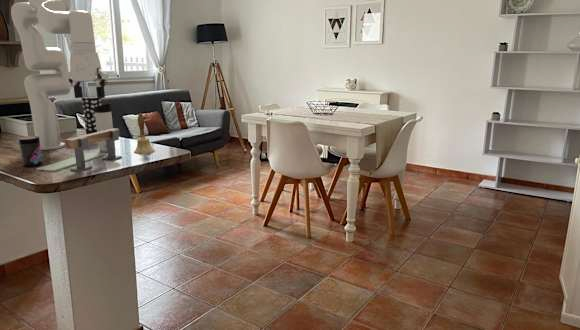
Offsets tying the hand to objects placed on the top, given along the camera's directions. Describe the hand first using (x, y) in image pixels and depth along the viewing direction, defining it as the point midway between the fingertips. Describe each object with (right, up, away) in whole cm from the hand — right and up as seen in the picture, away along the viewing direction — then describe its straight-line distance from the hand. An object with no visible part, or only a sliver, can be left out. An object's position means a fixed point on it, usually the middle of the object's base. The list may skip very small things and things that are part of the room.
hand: (90, 97), depth 157 cm
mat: (-10, -23, +9) cm, 27 cm away
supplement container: (-23, -24, +5) cm, 34 cm away
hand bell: (+11, -19, +26) cm, 34 cm away
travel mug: (-5, -19, +27) cm, 33 cm away
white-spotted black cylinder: (-21, -12, +53) cm, 59 cm away
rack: (0, -24, +6) cm, 24 cm away
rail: (0, -16, +4) cm, 16 cm away
